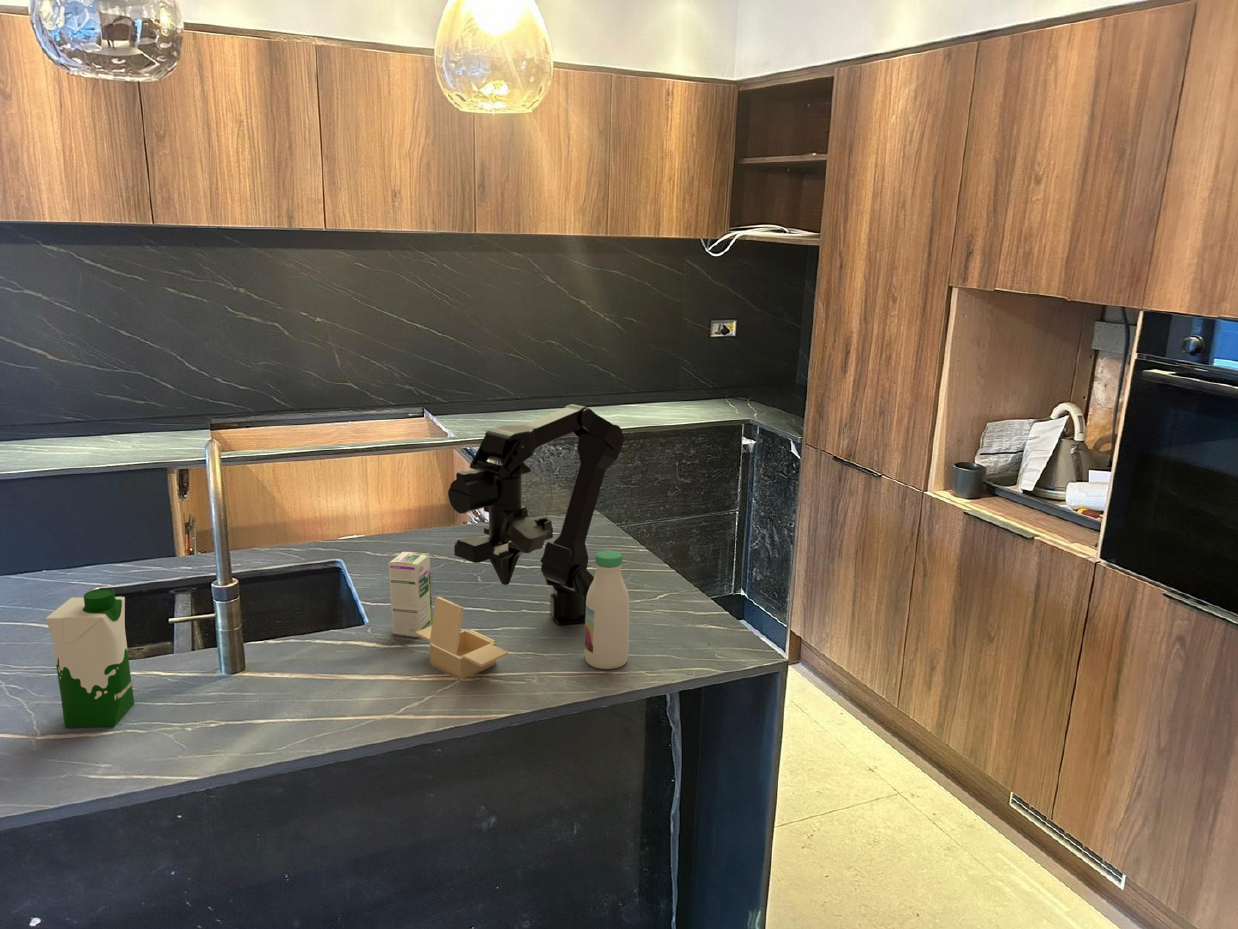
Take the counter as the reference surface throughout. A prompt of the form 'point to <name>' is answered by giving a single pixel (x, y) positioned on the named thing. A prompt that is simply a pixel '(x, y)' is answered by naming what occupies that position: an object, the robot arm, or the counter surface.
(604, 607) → the milk bottle
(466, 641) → the carton
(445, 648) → the back flap
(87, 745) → the counter surface
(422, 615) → the syrup box
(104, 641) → the milk carton
